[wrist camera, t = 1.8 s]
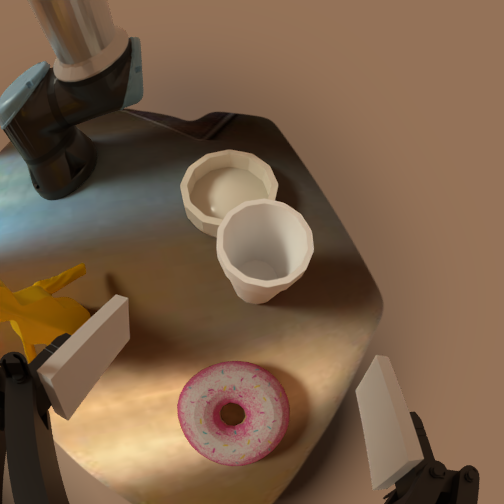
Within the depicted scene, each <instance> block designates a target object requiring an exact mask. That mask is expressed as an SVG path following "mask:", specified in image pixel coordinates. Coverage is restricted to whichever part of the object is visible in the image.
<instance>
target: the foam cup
mask: <svg viewBox="0 0 504 504" xmlns="http://www.w3.org/2000/svg"><path fill="white" fill-rule="evenodd" d="M313 252H314V247H313V237H312V231H311V229H310V227H309V226H308V224H307V223H306V221H305V220H304V218H303V216H302V215H301V214H300V213H298V212H297V211H296V210H294V209H293V208H291V207H290V206H288V205H287V204H285V203H282V202H278V201H274V200H269V199H265V198H264V199H258V200H251V201H245V202H243V203H241V204H240V205H238V206H237V207H235V208H234V209H232V210H230V211H229V212H228V213H227V214H226V216H225V217H224V219H223V221H222V222H221V224H220V226H219V227H218V230H217V256H218V260H219V262H220V264H221V266H222V268H223V270H224V273H225V275H226V277H228V278H229V279H230V281H231V283H232V285H233V287H234V289H235V291H236V293H237V295H238V296H239V297H240V298H241V299H243V300H244V301H245V302H248V303H252V304H260V303H265V302H267V301H269V300H270V299H271V298H273V297H274V296H275V295H276V294H278V293H279V292H280V291H283V290H286V289H287V288H288V287H290V286H291V285H292V284H293V283H295V282H296V281H297V280H298V279H299V278H301V276H302V275H303V273H304V272H305V270H306V269H307V266H308V264H309V261H310V259H311V257H312V254H313Z"/></svg>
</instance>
